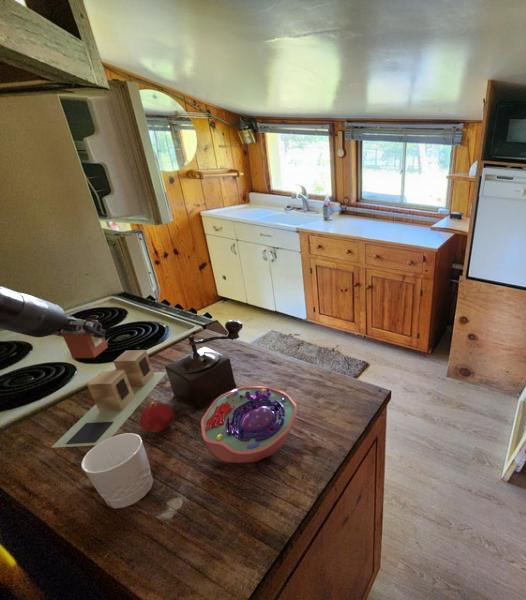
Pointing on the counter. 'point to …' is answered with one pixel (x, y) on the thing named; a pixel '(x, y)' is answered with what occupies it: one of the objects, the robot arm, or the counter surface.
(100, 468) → the white cup
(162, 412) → the red rounded lump
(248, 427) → the cell model
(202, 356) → the manual coffee grinder
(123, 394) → the maple letter middle
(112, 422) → the word mat
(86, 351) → the letter block
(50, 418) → the counter surface
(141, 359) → the maple letter far
